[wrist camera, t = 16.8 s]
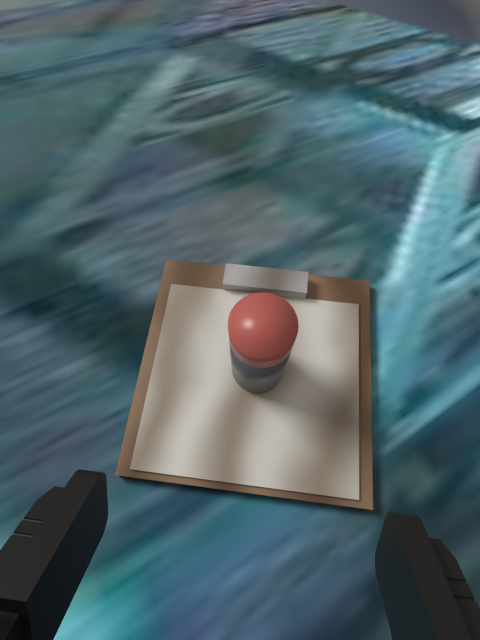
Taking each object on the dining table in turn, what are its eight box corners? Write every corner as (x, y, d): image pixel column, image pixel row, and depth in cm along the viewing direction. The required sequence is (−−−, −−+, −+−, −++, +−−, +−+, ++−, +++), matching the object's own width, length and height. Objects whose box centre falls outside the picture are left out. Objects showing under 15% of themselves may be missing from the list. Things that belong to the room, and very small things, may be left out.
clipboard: (118, 475, 28) (109, 474, 26) (167, 264, 35) (163, 251, 33) (369, 509, 27) (379, 510, 25) (366, 285, 34) (373, 273, 32)
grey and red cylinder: (228, 390, 29) (223, 353, 21) (234, 341, 31) (232, 289, 23) (281, 396, 29) (296, 361, 21) (284, 346, 31) (300, 295, 22)
